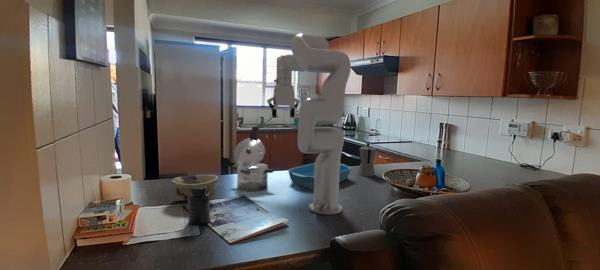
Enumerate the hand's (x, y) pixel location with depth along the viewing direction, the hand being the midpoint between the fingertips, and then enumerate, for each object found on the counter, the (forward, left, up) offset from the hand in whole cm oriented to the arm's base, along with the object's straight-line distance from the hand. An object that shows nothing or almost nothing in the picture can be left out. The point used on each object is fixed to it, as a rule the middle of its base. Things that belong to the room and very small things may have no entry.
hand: (283, 117), depth 161 cm
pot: (-15, +9, -32) cm, 37 cm away
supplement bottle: (-60, +7, -32) cm, 69 cm away
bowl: (-42, +21, -32) cm, 57 cm away
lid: (-17, +9, -13) cm, 23 cm away
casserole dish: (+8, -18, -33) cm, 38 cm away
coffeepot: (+32, -39, -32) cm, 60 cm away
